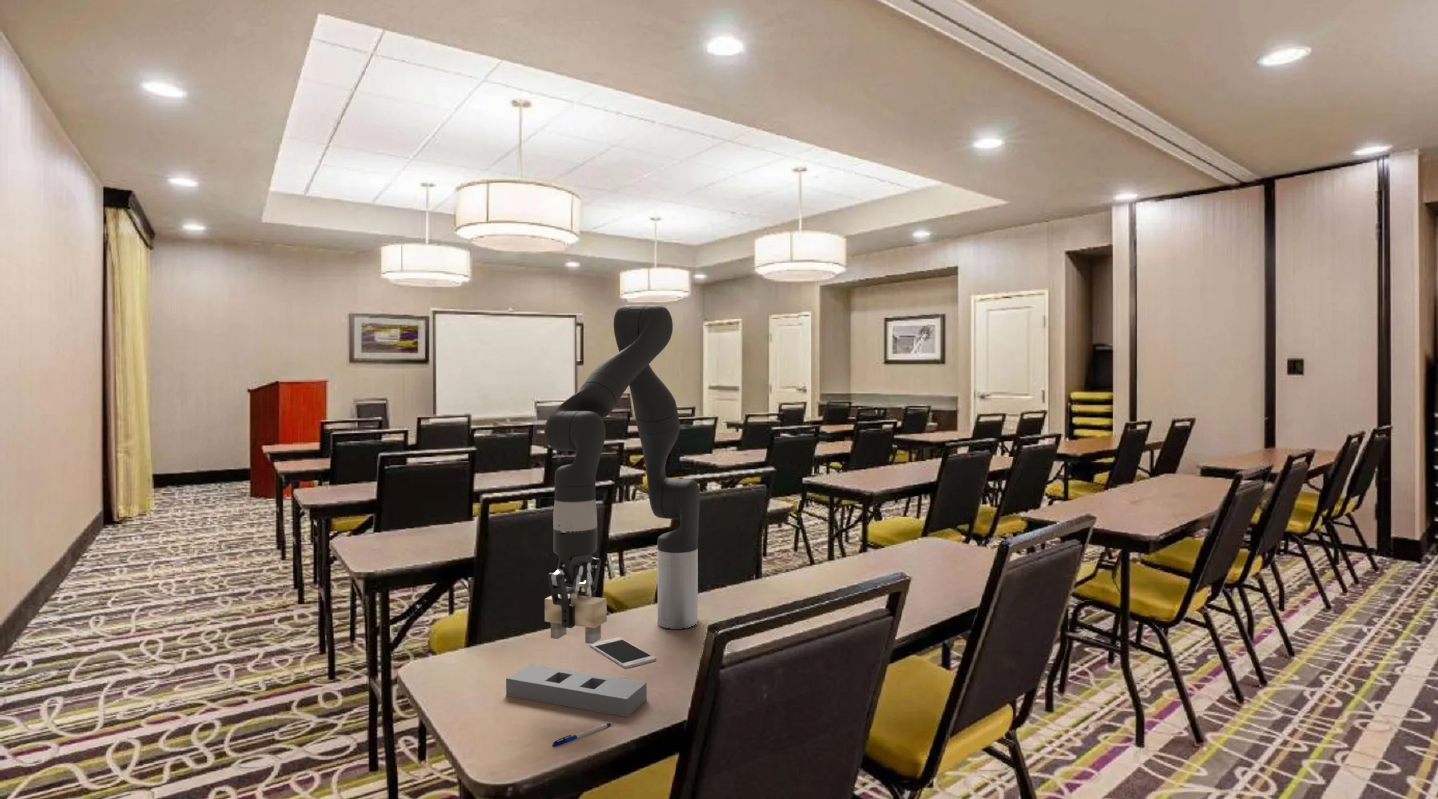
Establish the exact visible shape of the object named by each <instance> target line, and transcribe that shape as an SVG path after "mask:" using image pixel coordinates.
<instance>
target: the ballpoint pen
mask: <svg viewBox="0 0 1438 799" xmlns="http://www.w3.org/2000/svg"><path fill="white" fill-rule="evenodd" d="M610 726H612V723H611V722H607V723H604V724H601V725H598V726H595V727H592V728H590V729H587V730H585V731H582V732H579V733H576V734H573V735H571V734H570V735H566V736H563V737H561V738H559V739H557V740H555V741H554V742H552V745H551V747H552V748H556V747H559V746H562V745H565V744H567V743H570V742H573V741H576V740H578V739H580V738H583V737H585V736H587V735H588V736H589V735H590V734H593V733H596V732H599V731H600V730H604V729H606V728H609V727H610Z"/></svg>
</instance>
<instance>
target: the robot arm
mask: <svg viewBox="0 0 1438 799" xmlns="http://www.w3.org/2000/svg"><path fill="white" fill-rule="evenodd" d="M613 317H614V318H613V333H614V338H615V341H616V342H615V343H616V347H617V348H618V352H617V353H615V354H614V355H612V356H611V357H608V358H607V359H606V360H605V361H603V362H601V363H600V364H599V365H598V366H597V367H596V368H595V369H594V370H592V372H591V373H590V374H589V375H588V377H587V378H586V380H585V381H584V383H583V384H582V386H581V387H580V388H579V390H578V391H577V392H575V393H574V394H572V395H571V396H569V398H567V399H565V400H564V402H562V403H561V404H559V405H558V406H557V407H556V408H555V409H554V410H553V411H552V412H551V413H550V415H549V416H548V418H547V420H546V422H545V424H544V430H543V431H544V432H543V434H544V440H545V442H546V443H547V445H548V446H549V447H550V448H551V449H553V450H555V451H559V452H561V451H562V452H576V453H575V457H574V459H573V461H572V463H571V464H565V465H562V466H560V467H559V466H558V467H557V468H556V470H555V473H554V504H553V512H552V522H553V523H552V524H553V527H552V529H553V532H552V534H553V537H552V538H553V541H552V543H553V546H552V548H553V550H552V551H553V552H554V554H555V555H557V556H558V558H559V559H558V564H557V570H555V572H549V573H548V574H547V582H548V583H547V584H548V587H549V591H550V596H552V601H553V604H554V605H560V606H561V608H562V626H563V627H565V628H566V629H573V628H574V627H576V626H575V606H574V604H575V597H576V595H581V596H590V597H592V593H596V592H597V588H598V584H599V577H600V570H601V563H602V560H601V557H600V558H599V557H598V558H596V557H593V555H592V554H594V553H596V552H597V551H598V550H597V549H598V510H597V508H598V507H597V500H596V496H597V495H596V484H597V483H596V482H597V481H596V478H597V477H596V475H597V472H598V468H599V465H600V464H599V462H600V459H601V455H602V452H603V448H604V445H605V441H606V426H605V423H604V420H603V419H605V418H607V417H608V416H609V415H610V414H611V413H612V412H613V410H614V408H615V407H616V406H617V404H618V402H619V401H620V400H621V398H622V396H623V394H624V393H625V392H626V390H627V389H628V387H629V392H630V395H631V400H632V406H633V412H634V418H635V422H636V428H637V431H638V435H639V440H640V443H641V449H642V453H643V461H644V464H645V474H646V480H647V481H646V482H647V491H648V498H649V504H650V509H651V511H652V514H653V515H654V516H655V517H657V518H659V519H668V520H680V523H679V527H678V528H677V529H675V530H672V531H668V532H665V533H662V534H660V535H659V536H658V537H657V542H656V544H657V548H656V550H657V551H656V552H657V554H656V555H657V561H656V562H657V625H658V626H659V627H660V628H664V629H668V628H670V630H683V629H682V628H685V629H689V627H690V628H692V627H691V626H693V625H695V624H696V625H698V623H697V622H699V618H698V616H699V615H698V614H699V613H698V612H699V609H698V608H699V606H698V605H699V604H698V603H699V590H698V589H699V588H698V587H699V585H698V584H699V583H698V582H699V581H698V579H699V576H698V575H699V571H698V570H699V569H698V568H699V564H698V563H699V562H698V555H699V554H698V553H699V552H698V548H699V547H698V544H699V543H698V541H699V527H700V526H699V524H700V523H699V520H700V516H699V515H700V506H701V504H700V502H701V501H700V500H701V498H700V497H701V496H700V495H701V493H700V492H701V491H700V487H699V484H698V482H697V481H696V480H694V479H691V478H673V477H672V478H671V477H670V478H669V477H667V475H666V462H667V460H668V456H669V455H670V453H671V451H672V449H673V447H674V446H675V443H676V442H677V440H678V437H679V434H680V431H681V423H680V417H679V412H678V406H677V402H676V400H675V397H674V396H673V394H672V393H671V391H670V390H669V389H668V387H667V386H666V384H664V382H663V381H662V380H661V379H660V377H659V376H658V375H657V374H656V372H655V371H654V370H653V368H652V367H651V366H650V363H652V361H653V360H654V359H655V358H656V357H657V356H659V354H660V353H661V352H662V351H663V350H664V349H665V347H667V345H668V344H669V343H670V340H671V338H672V334H673V329H674V328H673V326H674V322H673V317H672V315H671V313H670V311H669V310H668V309H667V307H665V306H663V305H657V304H624V305H621V306H619V307H618V308H617V309H616V310H615V313H614V316H613ZM569 586H572V587H569ZM558 594H560V597H558ZM568 594H570V597H569V599H568ZM696 625H695V626H696ZM693 627H694V626H693Z"/></svg>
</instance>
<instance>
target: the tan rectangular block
mask: <svg viewBox="0 0 1438 799" xmlns="http://www.w3.org/2000/svg"><path fill="white" fill-rule="evenodd" d="M567 594H568V599H569V597H570V593H567ZM558 597H560V594H558ZM574 606H575V626H574V627H583V628H585V632H584V633H585V637H584V640H585V642H584V643H585V644H589V645H590V644H593V643H596V642H599V641H600V640H601V638H602V635H601V634H602V624H604V623H606V622H607V617H608V616H607V597H606V598H605V597H596V596H591V597H590V596H581V595H576V597H575V604H574ZM544 622H545V623H546V622H547V623H550V638H551V639H553V640H554V639H557V640H558V639H561V638H562V637H564V636H566V635H567V628H565V627H563V626H562V608H561V606H560V605H554V604H553V601H552V596H551V595H549V596H547V597H546V598H544Z"/></svg>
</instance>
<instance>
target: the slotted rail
mask: <svg viewBox="0 0 1438 799" xmlns="http://www.w3.org/2000/svg"><path fill="white" fill-rule="evenodd" d="M505 679H506V680H505V690H506V692H505V695H506V696H508V697H509V696H510V697H514V698H519V699H525V700H530V701H537V702H542V703H548V704H552V705H558V706H565V707H567V708H568V707H569V708H575V709H580V710H585V711H591V712H595V713H597V712H598V713H602V714H607V715H613V716H619V717H623V718H628V717H629V716H630V715H631V714H632V713H634V711H636V710H637V709H638V708H639V707H641V705H643V703H644V702H645V703H646V701H647V698H648V697H647V694H648V692H647V691H648V690H647V689H648V688H647V687H648V686H647V685H648V684H647V682H645V681H639V680H632V679H628V678H627V679H626V678H620V677H615V676H608V675H602V674H595V673H590V672H589V673H588V672H583V671H576V670H571V669H570V670H569V669H564V668H558V667H552V666H545V665H539V664H533V663H530V664H529V665H526V666H524V667H523V668H521V669H519V670H518V671H516V672H515V673H513V674H511V675H509V676H508V677H506V678H505Z"/></svg>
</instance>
